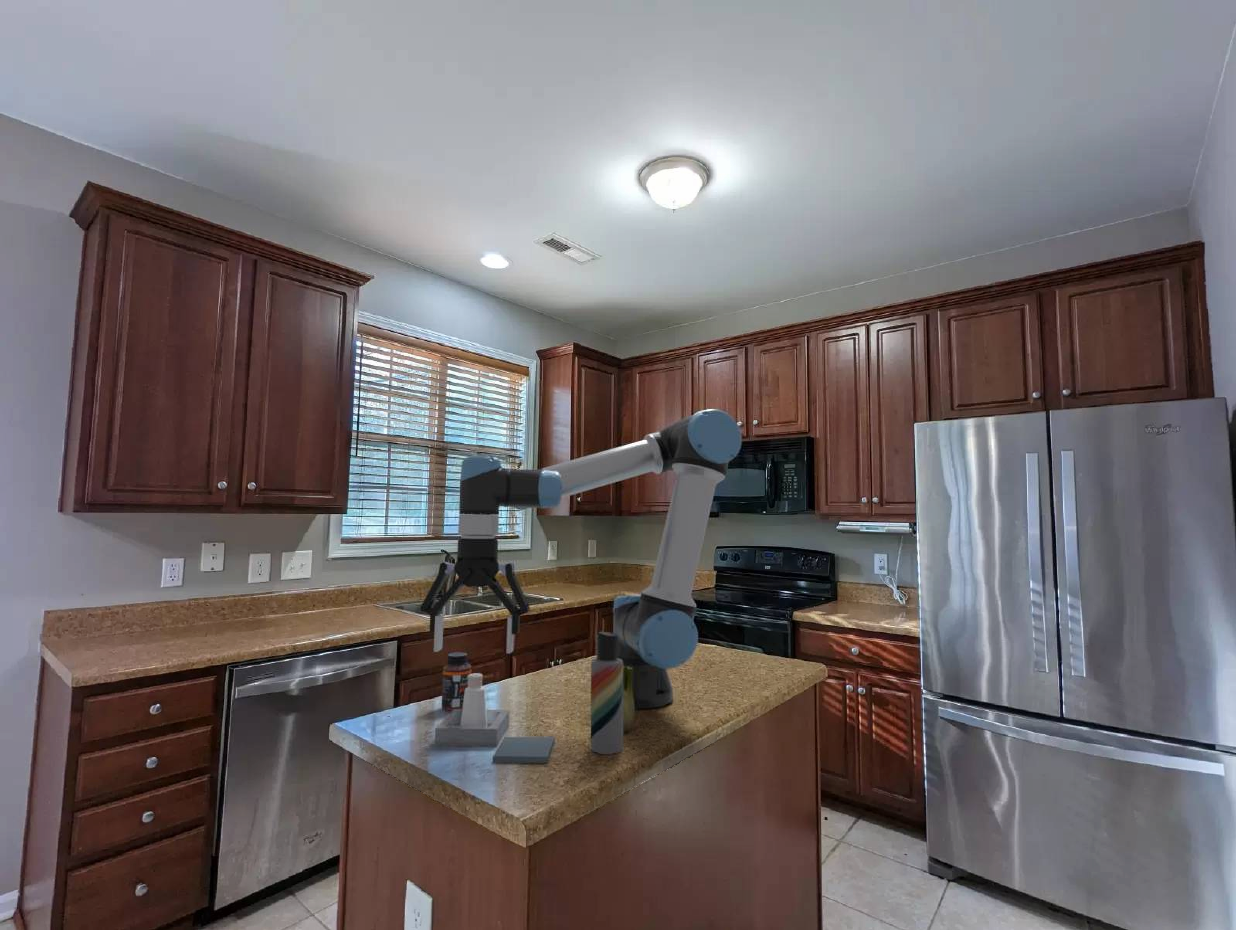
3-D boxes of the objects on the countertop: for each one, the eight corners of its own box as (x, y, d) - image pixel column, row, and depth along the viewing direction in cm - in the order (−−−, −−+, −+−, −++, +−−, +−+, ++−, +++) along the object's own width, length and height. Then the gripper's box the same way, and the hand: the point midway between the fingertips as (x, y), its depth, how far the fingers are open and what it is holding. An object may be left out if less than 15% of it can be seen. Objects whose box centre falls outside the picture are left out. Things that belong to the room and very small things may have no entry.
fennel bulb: (602, 735, 112) (603, 669, 113) (605, 726, 117) (605, 663, 118) (634, 736, 112) (634, 670, 113) (635, 727, 117) (635, 663, 118)
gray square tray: (509, 725, 117) (509, 709, 118) (496, 746, 106) (496, 728, 107) (453, 725, 118) (453, 709, 118) (434, 745, 107) (435, 728, 107)
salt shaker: (462, 742, 108) (464, 679, 109) (455, 733, 113) (457, 673, 114) (492, 737, 111) (493, 676, 112) (483, 728, 116) (485, 669, 117)
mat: (554, 743, 108) (554, 737, 108) (547, 763, 99) (547, 756, 99) (504, 742, 108) (504, 736, 109) (493, 762, 99) (493, 756, 100)
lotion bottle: (589, 743, 108) (590, 629, 110) (621, 742, 109) (621, 629, 110) (591, 755, 102) (591, 635, 104) (624, 754, 103) (624, 634, 105)
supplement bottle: (462, 713, 125) (464, 657, 126) (436, 712, 126) (437, 656, 127) (475, 705, 131) (476, 651, 132) (449, 703, 132) (451, 650, 133)
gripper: (545, 538, 119) (542, 648, 117) (420, 535, 120) (415, 645, 117) (540, 538, 111) (536, 656, 109) (406, 536, 112) (400, 653, 110)
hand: (473, 651), depth 113 cm, fingers open, 13 cm apart
